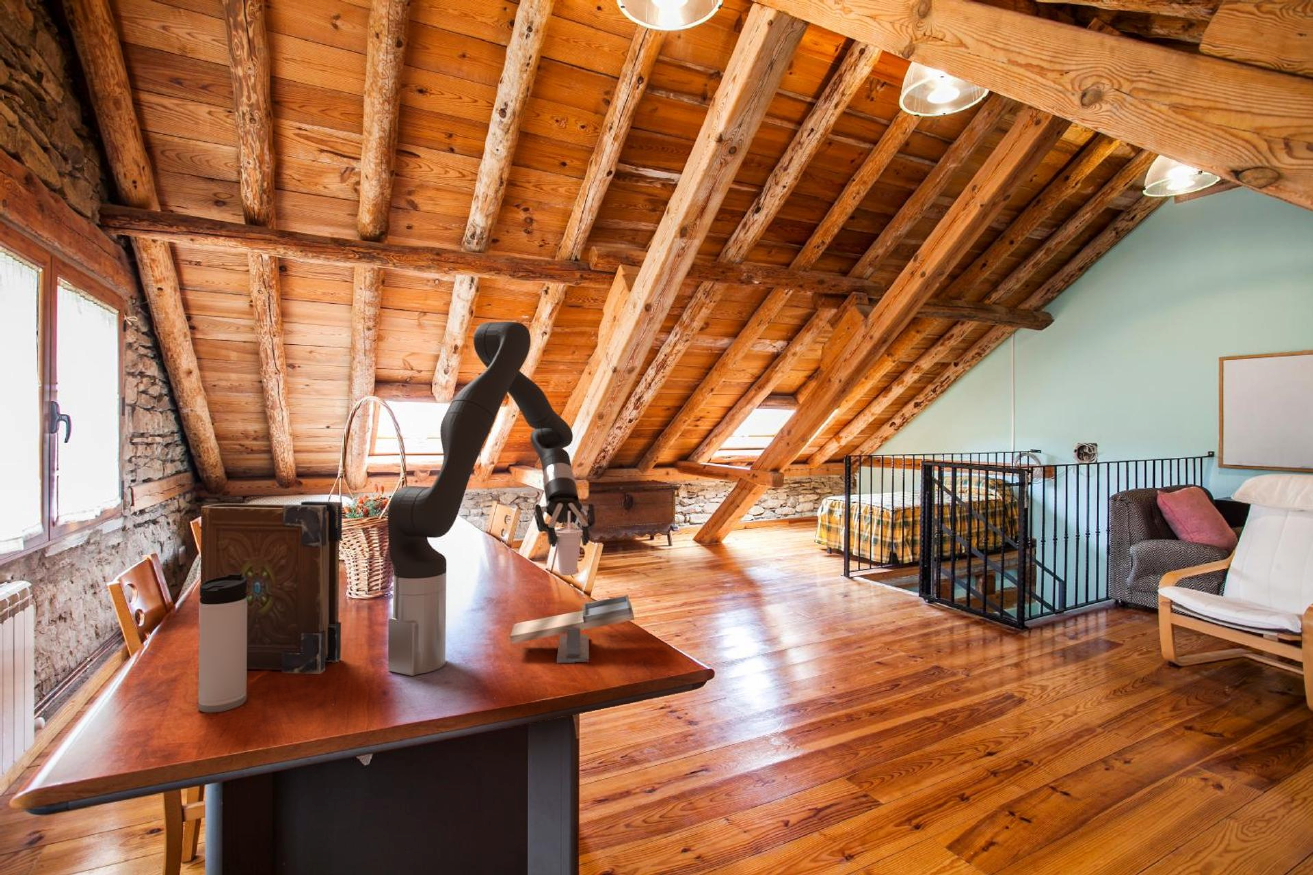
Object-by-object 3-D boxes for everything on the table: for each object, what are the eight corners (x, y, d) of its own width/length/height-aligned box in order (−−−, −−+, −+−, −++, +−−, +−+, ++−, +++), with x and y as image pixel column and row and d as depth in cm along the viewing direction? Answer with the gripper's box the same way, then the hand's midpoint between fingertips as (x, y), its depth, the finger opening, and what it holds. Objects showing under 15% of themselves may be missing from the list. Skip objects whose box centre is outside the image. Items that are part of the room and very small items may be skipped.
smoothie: (554, 577, 138) (556, 512, 138) (551, 571, 144) (552, 509, 144) (584, 576, 140) (585, 512, 140) (579, 569, 146) (580, 509, 146)
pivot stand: (556, 663, 120) (557, 631, 120) (559, 639, 134) (560, 610, 134) (588, 662, 121) (589, 630, 121) (588, 638, 135) (588, 610, 134)
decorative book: (340, 659, 120) (342, 501, 120) (319, 674, 113) (321, 506, 113) (220, 656, 121) (221, 499, 121) (191, 670, 114) (193, 503, 114)
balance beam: (510, 645, 121) (508, 631, 121) (516, 629, 131) (514, 616, 131) (634, 620, 124) (632, 607, 124) (631, 607, 133) (629, 594, 133)
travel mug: (256, 695, 104) (257, 573, 104) (230, 713, 97) (231, 583, 97) (217, 695, 104) (218, 573, 103) (188, 713, 97) (189, 582, 97)
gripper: (531, 476, 146) (540, 535, 135) (592, 476, 151) (605, 532, 140) (527, 497, 151) (535, 555, 140) (586, 496, 156) (598, 552, 145)
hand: (570, 543), depth 140 cm, fingers closed on smoothie, 6 cm apart
